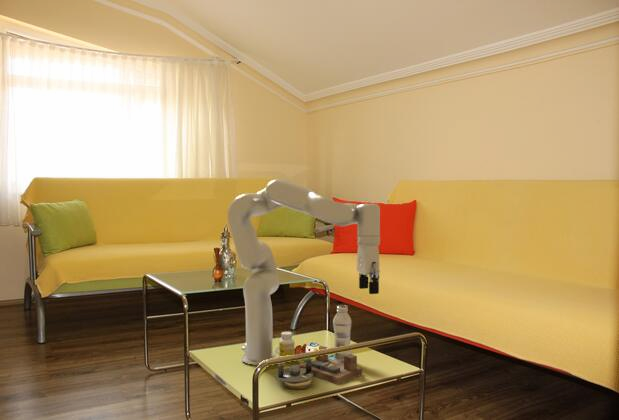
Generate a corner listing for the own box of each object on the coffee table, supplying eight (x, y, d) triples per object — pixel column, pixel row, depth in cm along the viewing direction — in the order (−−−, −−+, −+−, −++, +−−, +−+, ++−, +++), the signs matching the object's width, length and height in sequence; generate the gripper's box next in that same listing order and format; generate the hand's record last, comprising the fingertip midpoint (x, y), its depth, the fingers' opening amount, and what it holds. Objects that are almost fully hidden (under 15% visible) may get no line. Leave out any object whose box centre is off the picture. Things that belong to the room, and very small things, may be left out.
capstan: (269, 382, 168) (268, 362, 168) (295, 373, 176) (295, 354, 176) (294, 392, 160) (294, 371, 159) (321, 382, 168) (321, 362, 168)
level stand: (298, 370, 180) (298, 351, 180) (322, 362, 189) (322, 344, 188) (337, 384, 167) (337, 364, 167) (362, 374, 176) (362, 355, 176)
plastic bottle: (352, 365, 185) (352, 308, 184) (333, 365, 185) (332, 308, 185) (351, 359, 192) (351, 304, 191) (332, 359, 192) (332, 304, 191)
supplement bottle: (277, 358, 193) (277, 331, 193) (292, 357, 195) (292, 330, 194) (281, 363, 188) (281, 335, 188) (296, 361, 190) (296, 334, 189)
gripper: (349, 238, 187) (350, 287, 187) (366, 243, 170) (367, 296, 170) (370, 237, 188) (370, 286, 189) (389, 242, 172) (389, 295, 172)
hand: (368, 291), depth 180 cm, fingers open, 9 cm apart
